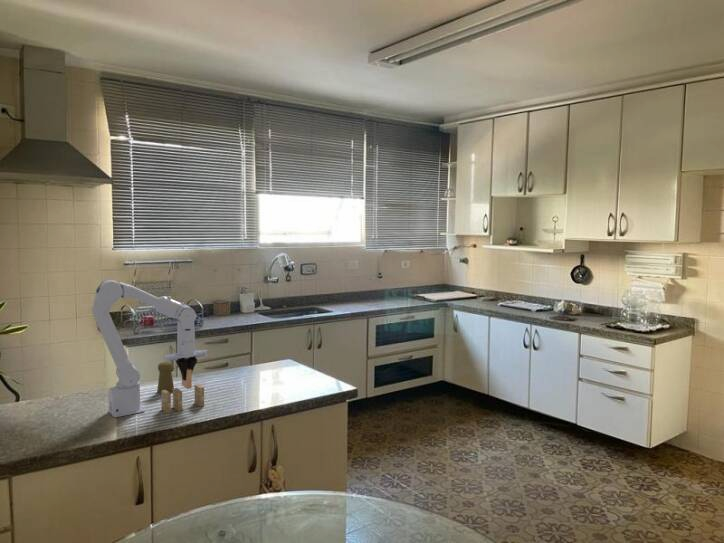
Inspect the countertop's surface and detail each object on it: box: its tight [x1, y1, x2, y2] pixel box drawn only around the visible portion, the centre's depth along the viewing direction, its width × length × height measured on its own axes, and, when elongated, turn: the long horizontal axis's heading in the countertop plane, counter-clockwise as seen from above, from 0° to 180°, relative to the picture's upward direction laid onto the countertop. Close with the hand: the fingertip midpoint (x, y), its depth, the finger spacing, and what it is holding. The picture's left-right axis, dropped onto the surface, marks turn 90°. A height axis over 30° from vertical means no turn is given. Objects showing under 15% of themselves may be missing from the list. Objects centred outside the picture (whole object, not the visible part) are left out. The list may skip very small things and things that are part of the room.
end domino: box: [194, 383, 205, 407], centre depth 189 cm, size 1×5×6 cm, turn 38°
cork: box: [156, 361, 175, 395], centre depth 202 cm, size 6×6×11 cm
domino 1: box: [160, 390, 172, 414], centre depth 182 cm, size 1×5×6 cm, turn 38°
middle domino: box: [172, 387, 183, 412], centre depth 184 cm, size 1×5×6 cm, turn 38°
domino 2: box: [181, 368, 193, 390], centre depth 189 cm, size 1×5×6 cm, turn 40°
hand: (186, 379), depth 189 cm, fingers closed on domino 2, 1 cm apart
